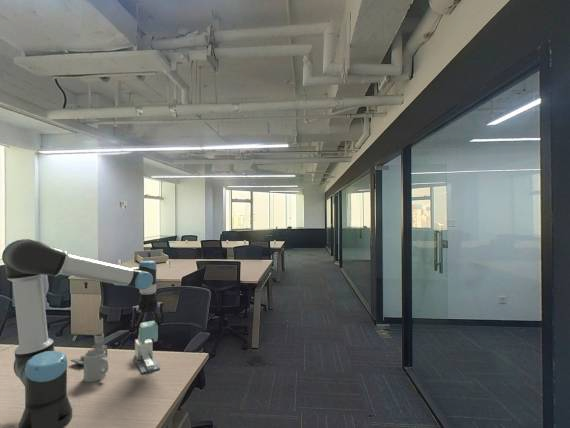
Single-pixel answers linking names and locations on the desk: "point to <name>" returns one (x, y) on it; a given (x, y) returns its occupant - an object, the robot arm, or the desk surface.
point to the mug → (95, 365)
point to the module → (148, 331)
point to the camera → (98, 345)
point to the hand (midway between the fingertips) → (148, 339)
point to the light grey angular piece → (145, 356)
